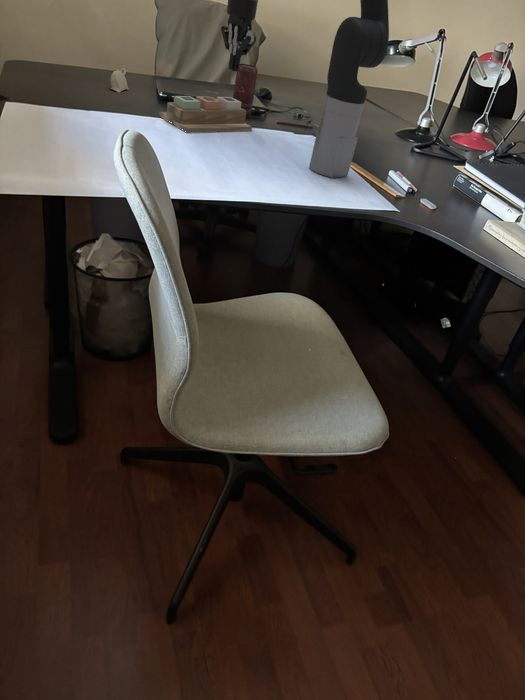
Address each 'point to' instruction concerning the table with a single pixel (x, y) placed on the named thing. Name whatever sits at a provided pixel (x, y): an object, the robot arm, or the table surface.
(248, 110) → the can
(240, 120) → the keypad board
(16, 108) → the table surface
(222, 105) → the cream key
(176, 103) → the sage key
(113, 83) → the decorative ornament
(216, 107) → the terracotta key
